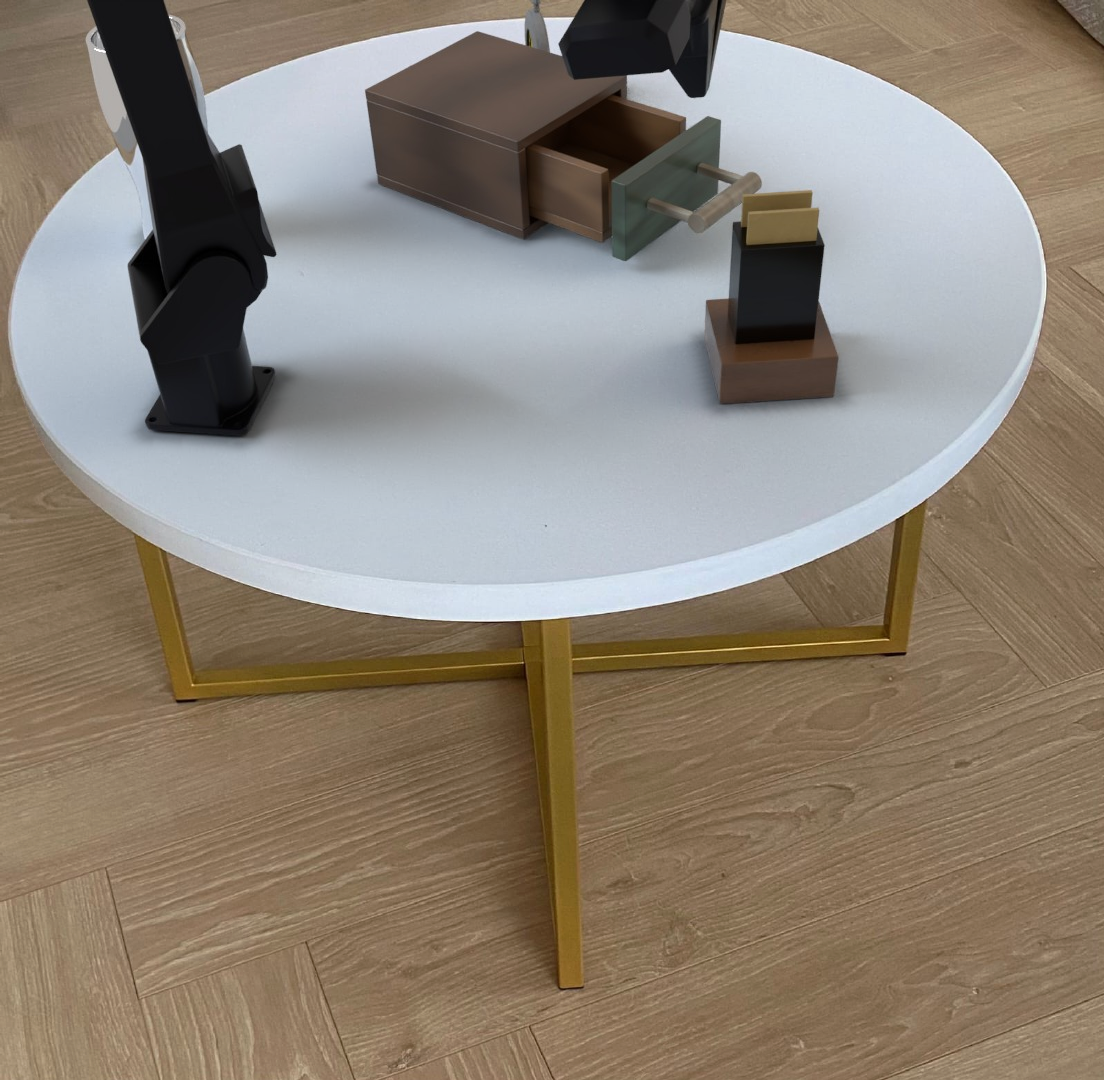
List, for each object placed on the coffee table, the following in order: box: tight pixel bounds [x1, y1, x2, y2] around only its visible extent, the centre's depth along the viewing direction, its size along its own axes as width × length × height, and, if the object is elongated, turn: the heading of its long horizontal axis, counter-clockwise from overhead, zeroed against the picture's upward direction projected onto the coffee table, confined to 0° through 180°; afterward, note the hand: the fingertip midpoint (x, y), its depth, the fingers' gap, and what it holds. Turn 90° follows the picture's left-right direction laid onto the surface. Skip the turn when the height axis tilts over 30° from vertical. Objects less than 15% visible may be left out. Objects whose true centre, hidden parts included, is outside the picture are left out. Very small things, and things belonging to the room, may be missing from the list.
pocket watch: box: [524, 0, 551, 53], centre depth 111 cm, size 8×8×10 cm
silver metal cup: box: [85, 14, 209, 240], centre depth 95 cm, size 7×7×15 cm
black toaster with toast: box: [728, 189, 825, 344], centre depth 80 cm, size 3×5×8 cm
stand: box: [703, 297, 839, 405], centre depth 84 cm, size 7×7×3 cm
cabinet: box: [364, 30, 628, 240], centre depth 102 cm, size 15×13×8 cm
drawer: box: [525, 95, 763, 262], centre depth 96 cm, size 18×11×6 cm, turn 51°
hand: (698, 94), depth 81 cm, fingers closed
